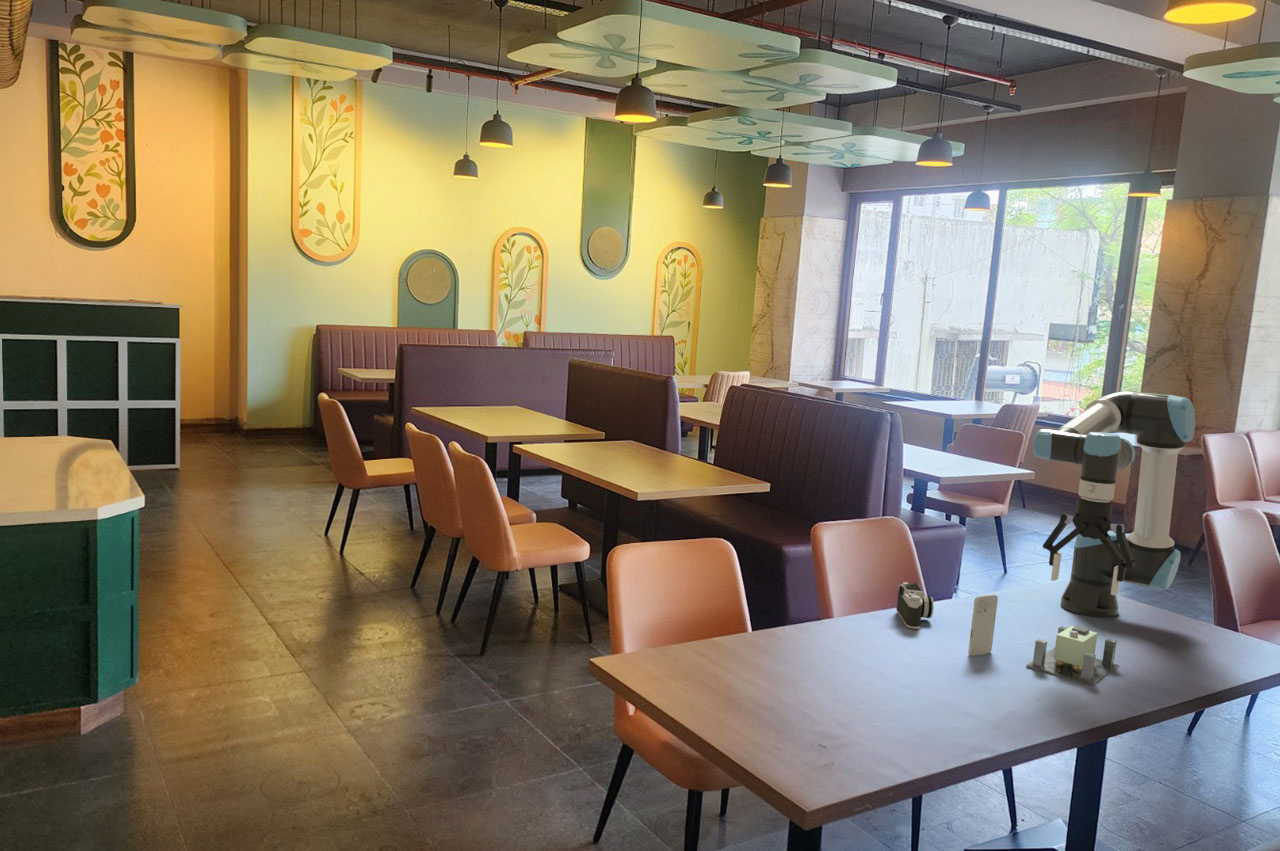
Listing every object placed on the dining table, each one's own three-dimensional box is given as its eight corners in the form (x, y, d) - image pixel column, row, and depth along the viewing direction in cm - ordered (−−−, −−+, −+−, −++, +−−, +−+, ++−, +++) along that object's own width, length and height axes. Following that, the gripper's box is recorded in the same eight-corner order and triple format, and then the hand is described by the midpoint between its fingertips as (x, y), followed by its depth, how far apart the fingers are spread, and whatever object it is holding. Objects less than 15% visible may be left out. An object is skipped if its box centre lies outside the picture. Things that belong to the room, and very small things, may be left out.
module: (1068, 649, 239) (1072, 622, 238) (1094, 656, 235) (1098, 628, 234) (1053, 658, 232) (1057, 630, 231) (1079, 666, 228) (1083, 637, 227)
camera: (938, 631, 256) (942, 594, 255) (904, 628, 257) (908, 591, 255) (924, 611, 272) (927, 576, 271) (892, 609, 272) (896, 574, 271)
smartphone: (989, 652, 243) (996, 593, 240) (992, 653, 242) (999, 595, 240) (967, 655, 239) (974, 596, 237) (971, 657, 238) (978, 597, 236)
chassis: (1055, 651, 246) (1058, 624, 245) (1118, 669, 236) (1122, 641, 235) (1026, 669, 232) (1029, 640, 231) (1091, 689, 222) (1096, 659, 221)
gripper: (1035, 490, 234) (1025, 576, 237) (1148, 511, 218) (1135, 603, 221) (1047, 487, 240) (1036, 571, 243) (1157, 507, 223) (1145, 597, 226)
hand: (1083, 586), depth 232 cm, fingers open, 13 cm apart
